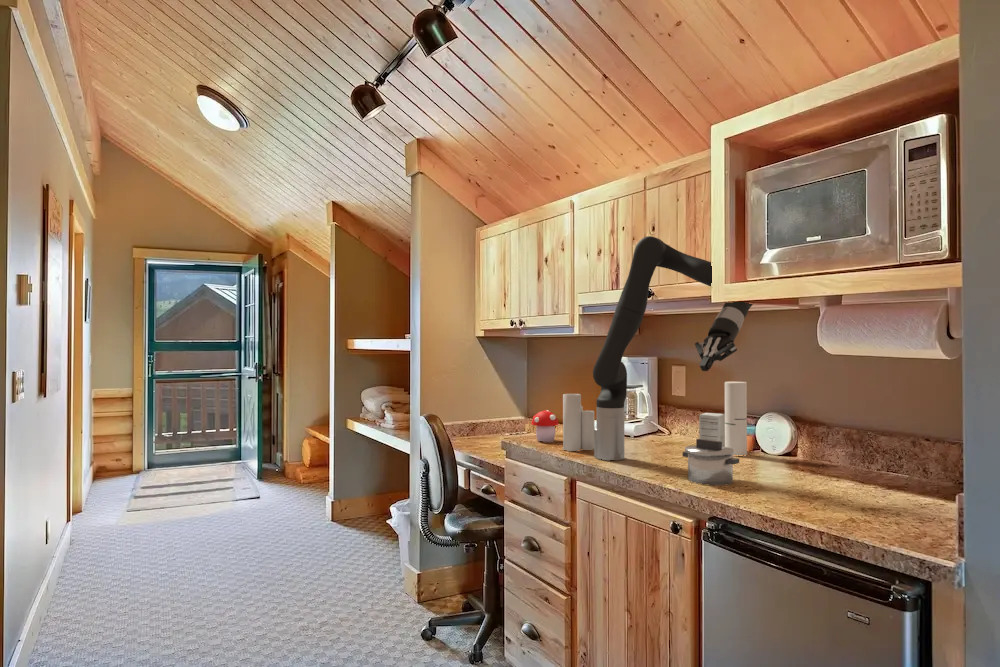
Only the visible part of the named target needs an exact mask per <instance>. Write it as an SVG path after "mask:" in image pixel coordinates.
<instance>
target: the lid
mask: <svg viewBox="0 0 1000 667" xmlns="http://www.w3.org/2000/svg"><path fill="white" fill-rule="evenodd" d="M695 441H696V444H695V445H694V444H693V445H688V446H685V447H684V452H686V453H688V454H692V455H698V456H710V457H722V456H731V455H733V449H731V448H728V447H722V442H721V441H714V440H706V439H699V438H696V440H695Z"/></svg>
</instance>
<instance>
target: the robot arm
mask: <svg viewBox="0 0 1000 667" xmlns="http://www.w3.org/2000/svg"><path fill="white" fill-rule="evenodd" d="M711 262H712V261H710V260H706V259H703V258H699V257H696V256H693V255H689V254H686V253H684V252H681V251H680V250H677V249H675V248H673V247H672V246H670V245H669V244H667V243H665V242H664V241H663V240H662V239H660V238H658V237H655V236H650V235H649V236H644V237H642V238H641V239H640V240H639V241H638V242H637V243H636V245H635V247H634V251H633V255H632V259H631V264H630V269H629V271H628V272H629V273H628V276H627V278H626V280H625V283H624V287H623V289H622V291H621V293H620V296H619V299H618V301H617V304H616V307H615V310H614V313H613V316H612V320H611V323H610V326H609V329H608V332H607V335H606V339H605V341H604V344H603V346H602V348H601V351H600V353H599V355H598V357H597V359H596V361H595V364H594V366H593V368H592V376H593V377H592V378H593V380H594V383H595V384H596V385H598V386H599V387H600V389H601V390H600V393H599V394H598V396H597V398H596V401H595V402H596V410H595V411H596V412H595V413H596V428H595V429H594V450H593V454H594V455H593V457H594V458H596V459H598V460H601V459H602V460H601V461H610V460H615V461H623V460H625V402H626V398H627V390H628V388H627V387H628V373H627V368H626V365H625V364H624V362H623V361H622V359H623V356H624V354H625V351H626V349H627V347H628V345H629V344H630V342H631V341H632V339H634V337H635V335H636V334H637V332H638V331H639V328H640V326H641V325H642V322H643V318H644V316H645V314H646V309H647V305H648V299H649V298H648V297H649V290H650V289H649V288H650V284H651V281H652V277H653V275H654V272H655V271H656V269H657V267H659V268H663V269H667V270H668V269H669V270H670V271H675V272H677V273H680V274H682V275H684V276H686V277H688V278H690V279H692V280H694V281H696V282H698V283H700V284H702V285H705V286H708V287H711V283H712V266H711ZM753 305H754V303H753V304H749V303H745V302H733V303H724V304H723V306H722V308H721V310H720V311H719V312H718V313H717V315H716V317H715V319H714V320H713V322H712V324H711V326H710V328H709V330H708V335H707V336H706V337H705V338H704V340H703V341H702V342H699V341H697V342H695V343H694V346H695V348H696V351H697V354H698V355H699V357H700V359H701V361H700V363H699V368H700V369H701V371H702V372H708V371H709V370H710V369H712V366H713V364H714V363H715V362H716V361H719V362H721V361H723V360H725V359H726V358H728V357H729V356H731V355H732V354H734V353H736V352H737V351H738V348H737V346H736V344H735V341H736V338H737V336H738V334H739V332H740V331H741V328H742V327H743V325H744V324H743V323H744V321H745V318H746V317H747V315H748V312H749V310H750V309H751V307H752V306H753Z"/></svg>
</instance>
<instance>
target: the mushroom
mask: <svg viewBox="0 0 1000 667" xmlns="http://www.w3.org/2000/svg"><path fill="white" fill-rule="evenodd" d="M530 425H532V426H536V427H535V428H536V429H535V434H536V441H537V440H538V441H537V442H539V441H543V442H542V443H553V442H555V438H556V428H555V427H556V426H558V425H559V420H558V417H557V416H556V415H555V414H554V413H553V412H552V411H550V410H548V409H546V410H545V409H544V410H541V411H539V412H536V414H535V415H533V417H532V420H531V423H530ZM552 441H553V442H552Z"/></svg>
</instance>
